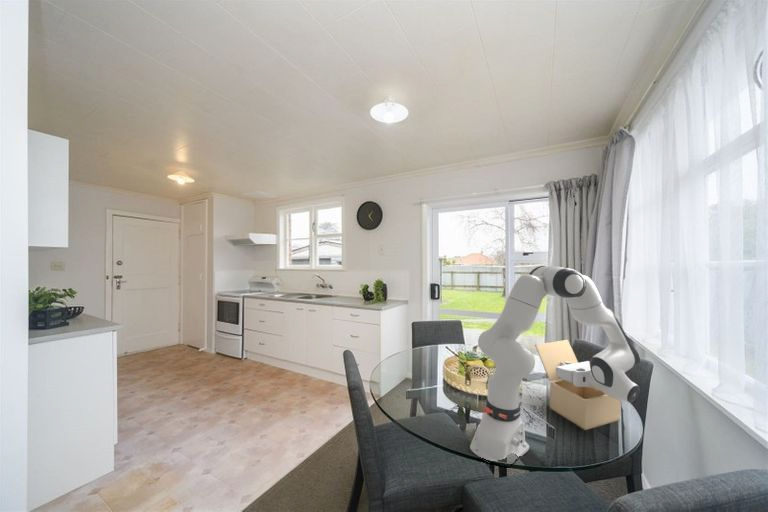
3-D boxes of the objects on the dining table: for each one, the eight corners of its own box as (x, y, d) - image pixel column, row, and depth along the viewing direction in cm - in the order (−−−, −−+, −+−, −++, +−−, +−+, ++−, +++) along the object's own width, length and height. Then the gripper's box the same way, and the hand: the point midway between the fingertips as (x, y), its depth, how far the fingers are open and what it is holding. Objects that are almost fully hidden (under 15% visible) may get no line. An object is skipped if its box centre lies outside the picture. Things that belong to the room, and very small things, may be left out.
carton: (619, 420, 121) (621, 391, 120) (584, 430, 114) (585, 400, 114) (582, 400, 136) (583, 374, 135) (549, 408, 130) (550, 381, 129)
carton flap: (567, 339, 143) (566, 340, 143) (535, 344, 136) (534, 344, 137) (583, 374, 135) (582, 374, 136) (550, 381, 129) (549, 381, 129)
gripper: (610, 365, 124) (579, 353, 138) (573, 372, 118) (545, 359, 131) (609, 379, 125) (579, 366, 138) (573, 387, 119) (545, 373, 132)
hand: (562, 363), depth 135 cm, fingers closed, pressing on carton flap
